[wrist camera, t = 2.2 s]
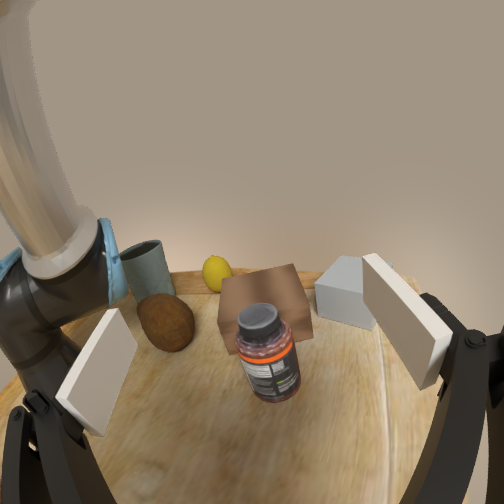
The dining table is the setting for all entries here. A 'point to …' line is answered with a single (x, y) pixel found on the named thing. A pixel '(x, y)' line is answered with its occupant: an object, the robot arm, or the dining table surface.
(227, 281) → the walnut block
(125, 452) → the dining table surface
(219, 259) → the lemon
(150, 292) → the grey green planter pot
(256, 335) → the supplement bottle
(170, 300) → the potato
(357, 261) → the grey block
